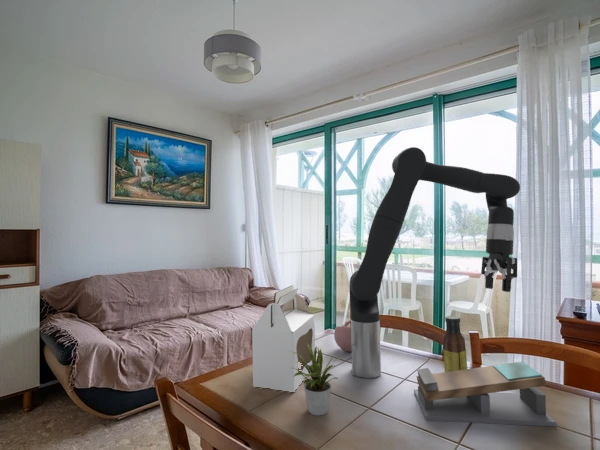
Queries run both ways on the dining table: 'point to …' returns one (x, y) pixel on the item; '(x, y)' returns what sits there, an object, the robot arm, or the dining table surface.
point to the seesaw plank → (478, 380)
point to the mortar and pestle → (343, 337)
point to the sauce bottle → (454, 346)
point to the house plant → (316, 384)
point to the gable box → (282, 342)
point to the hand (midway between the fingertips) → (497, 290)
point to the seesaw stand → (489, 408)
